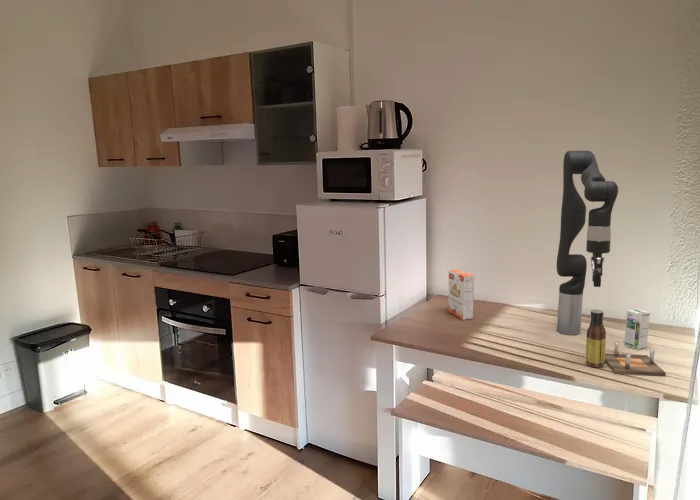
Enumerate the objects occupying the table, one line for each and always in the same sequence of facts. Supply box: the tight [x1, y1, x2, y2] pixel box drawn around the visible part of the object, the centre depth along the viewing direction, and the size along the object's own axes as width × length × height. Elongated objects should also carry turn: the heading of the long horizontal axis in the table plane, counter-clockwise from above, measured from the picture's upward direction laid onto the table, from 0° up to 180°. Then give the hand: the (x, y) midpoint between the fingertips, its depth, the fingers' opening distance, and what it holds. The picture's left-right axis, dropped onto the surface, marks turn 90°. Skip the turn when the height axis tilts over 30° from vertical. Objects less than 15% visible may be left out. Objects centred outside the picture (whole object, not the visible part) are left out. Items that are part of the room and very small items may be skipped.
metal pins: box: [613, 342, 656, 369], centre depth 182 cm, size 13×11×5 cm
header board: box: [604, 352, 667, 377], centre depth 182 cm, size 16×16×1 cm
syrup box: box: [623, 308, 651, 350], centre depth 199 cm, size 6×6×14 cm
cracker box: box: [447, 269, 475, 321], centre depth 241 cm, size 14×6×21 cm, turn 17°
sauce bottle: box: [585, 309, 607, 368], centre depth 182 cm, size 6×6×20 cm
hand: (596, 284), depth 183 cm, fingers open, 8 cm apart
